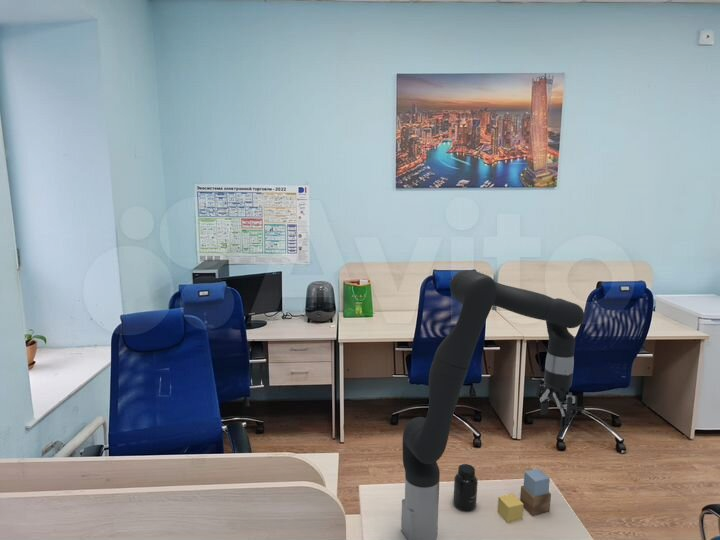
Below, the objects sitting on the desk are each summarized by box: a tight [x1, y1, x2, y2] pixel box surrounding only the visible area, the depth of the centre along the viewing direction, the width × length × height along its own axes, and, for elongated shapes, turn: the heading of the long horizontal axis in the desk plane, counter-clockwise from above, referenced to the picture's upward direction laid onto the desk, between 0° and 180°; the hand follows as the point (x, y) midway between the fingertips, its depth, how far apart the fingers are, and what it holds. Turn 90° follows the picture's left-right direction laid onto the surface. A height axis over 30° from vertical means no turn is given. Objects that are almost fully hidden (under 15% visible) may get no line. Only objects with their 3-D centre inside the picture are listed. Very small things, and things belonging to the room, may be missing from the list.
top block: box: [497, 493, 524, 524], centre depth 146 cm, size 5×5×5 cm
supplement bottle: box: [452, 463, 478, 512], centre depth 150 cm, size 7×7×12 cm
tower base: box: [519, 485, 552, 517], centre depth 149 cm, size 6×6×6 cm
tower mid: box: [523, 468, 551, 497], centre depth 148 cm, size 5×5×5 cm
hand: (553, 420), depth 147 cm, fingers open, 8 cm apart
